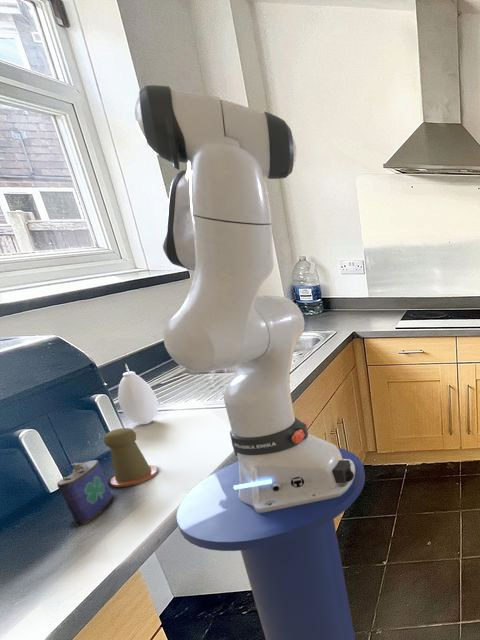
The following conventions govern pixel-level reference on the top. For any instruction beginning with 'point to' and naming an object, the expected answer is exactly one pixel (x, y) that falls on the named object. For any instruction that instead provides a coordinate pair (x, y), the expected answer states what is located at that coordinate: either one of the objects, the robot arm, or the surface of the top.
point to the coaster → (137, 481)
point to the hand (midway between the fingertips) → (190, 352)
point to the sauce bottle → (137, 398)
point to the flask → (85, 491)
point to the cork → (126, 455)
